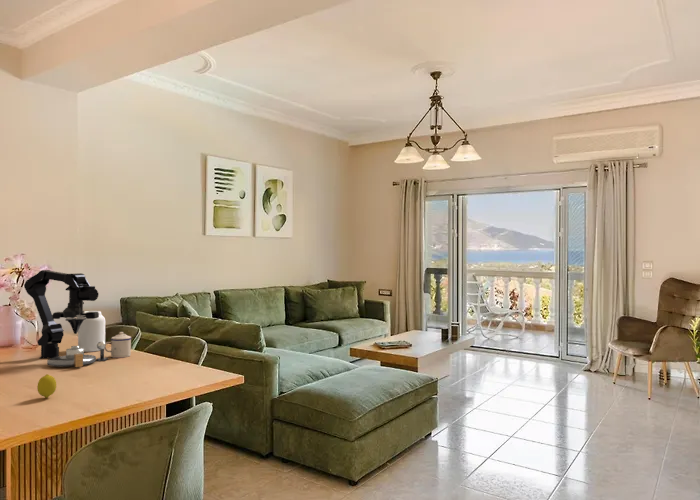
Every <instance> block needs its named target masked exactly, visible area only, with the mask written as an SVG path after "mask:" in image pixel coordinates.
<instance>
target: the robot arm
mask: <svg viewBox="0 0 700 500" xmlns="http://www.w3.org/2000/svg"><path fill="white" fill-rule="evenodd" d="M50 280H51V281H57V282H62V283H64V284H65V285H67V287H66V288H65V291H69V293H68V296H69V297H68V300H69V301H68V303H67V306H66V307H65V308H64V309H63V310H62V311H55V312H52V310H51V308H50V305H49V303H48V300H47V297H46V291H47V285H49V282H50ZM23 287H24V289H25V292H26V293H27V295H29V296H30V297H31V298H32V299H33V301H34V305H35V307H36V309H37V313H38V315H39V318H40V321H41V324H42V329H41V336H40V338H39V339H37V345H38V346H39V347H40V348H41V349H40V357H39V359H51V358H54V357H59V356H60V347H59V344H61V343H62V340H63V338H64V328H63V325H62V324H61V323H57V322H55V320H60V319H61V318H64V319H65V321H66V322H68V323H69V325H70V326H71V329H72V332H73V334H74V335H78V330H79V328H80V326H81V324H82V322H83V320H85V319H86V318H87V319H95V318H98V317H99V313H98V312H87V313H84V312H85V310H84V304H85V303H84V302H85V301H90V302H95V301H96V300H97V299H98V297H99V292H98V289H96V286H95V285H91V284H90V282H89V281H88V279H87V278H86V275H85V274H84V273H67V272H60V271H54V270H50V269H46V270H45V269H42V270H40V271H39V272H37V273H36V274H35V275H32V276H31V277H30V278H28V279H27V280H25V282H24V285H23ZM85 317H86V318H85Z"/></svg>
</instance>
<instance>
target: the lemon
mask: <svg viewBox="0 0 700 500" xmlns="http://www.w3.org/2000/svg"><path fill="white" fill-rule="evenodd" d="M36 387H37V392H38V394H39V395H40V396H41V397H44V398H45V399H47V398H49V397H51V396H52V395H53V394H55V392H56V389H57V381H56V379H55V377H54V376H53V375H50V374H49V373H46V374H44V375H43V376H41V378H39V381H38V382H37V386H36Z"/></svg>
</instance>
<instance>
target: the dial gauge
mask: <svg viewBox="0 0 700 500" xmlns="http://www.w3.org/2000/svg"><path fill="white" fill-rule="evenodd" d="M105 343H106V342H105ZM105 343H104V342H99V343H98V344H97V348H98V349H99V350H100V351H99V357H98V358H96V361H95V362H106V361H108V360H109V357H105V349H104V348H105V347H106V346H107V344H105Z"/></svg>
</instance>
